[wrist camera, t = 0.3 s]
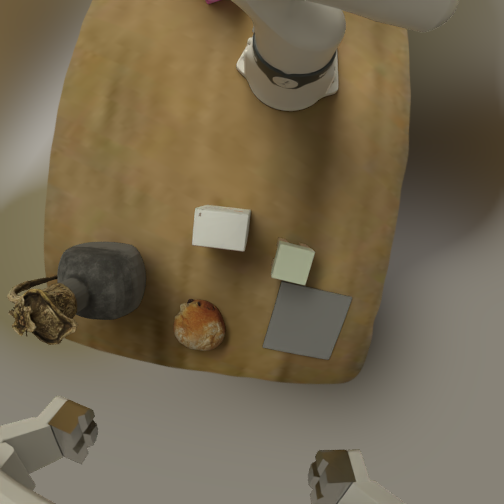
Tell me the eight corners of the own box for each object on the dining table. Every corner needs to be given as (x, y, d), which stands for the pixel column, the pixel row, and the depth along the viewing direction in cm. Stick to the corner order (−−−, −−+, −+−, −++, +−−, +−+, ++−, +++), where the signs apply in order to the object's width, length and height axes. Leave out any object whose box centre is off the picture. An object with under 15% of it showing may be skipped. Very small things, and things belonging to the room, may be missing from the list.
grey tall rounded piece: (160, 295, 56) (82, 383, 27) (80, 284, 56) (-16, 344, 27) (160, 240, 54) (66, 292, 24) (77, 234, 54) (-32, 269, 25)
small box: (203, 235, 53) (190, 245, 43) (206, 204, 52) (193, 207, 42) (247, 240, 53) (244, 252, 43) (251, 209, 52) (249, 214, 42)
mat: (281, 280, 55) (281, 281, 54) (351, 296, 55) (352, 297, 54) (262, 345, 57) (262, 347, 57) (328, 358, 58) (328, 359, 57)
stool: (277, 236, 53) (280, 243, 46) (307, 243, 53) (314, 252, 46) (270, 265, 54) (271, 277, 47) (299, 272, 54) (305, 285, 47)
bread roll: (183, 328, 61) (177, 359, 55) (170, 295, 55) (162, 327, 49) (229, 327, 61) (227, 359, 54) (221, 292, 55) (218, 326, 48)
